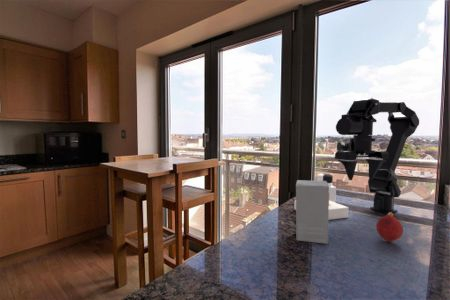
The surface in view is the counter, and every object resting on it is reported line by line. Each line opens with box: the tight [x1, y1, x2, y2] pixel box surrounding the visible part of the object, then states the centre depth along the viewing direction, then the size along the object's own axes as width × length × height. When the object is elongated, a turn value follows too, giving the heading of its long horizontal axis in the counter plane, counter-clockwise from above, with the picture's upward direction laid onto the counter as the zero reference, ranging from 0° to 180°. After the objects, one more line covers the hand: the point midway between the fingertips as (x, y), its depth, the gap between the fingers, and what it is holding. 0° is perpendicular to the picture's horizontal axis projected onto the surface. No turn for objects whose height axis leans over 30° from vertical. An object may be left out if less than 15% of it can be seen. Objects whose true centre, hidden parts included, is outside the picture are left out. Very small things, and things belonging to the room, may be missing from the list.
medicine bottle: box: [316, 173, 337, 203], centre depth 101 cm, size 7×7×12 cm
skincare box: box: [295, 179, 329, 245], centre depth 65 cm, size 8×7×16 cm
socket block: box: [293, 199, 350, 221], centre depth 86 cm, size 13×13×4 cm
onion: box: [375, 212, 404, 243], centre depth 63 cm, size 6×6×8 cm
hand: (360, 179), depth 83 cm, fingers open, 9 cm apart
